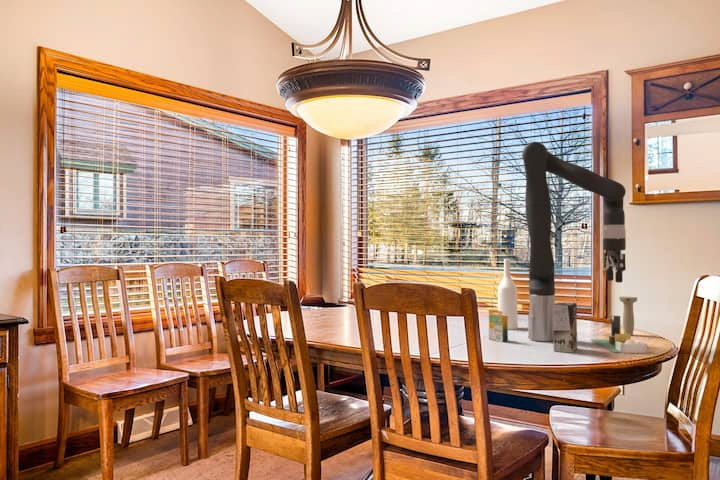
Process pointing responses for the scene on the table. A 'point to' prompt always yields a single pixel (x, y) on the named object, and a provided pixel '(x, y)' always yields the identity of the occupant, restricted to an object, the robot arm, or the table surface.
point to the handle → (628, 314)
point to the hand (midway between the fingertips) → (614, 281)
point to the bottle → (508, 297)
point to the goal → (631, 347)
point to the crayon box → (498, 326)
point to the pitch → (607, 345)
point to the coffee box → (565, 327)
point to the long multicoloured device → (618, 330)
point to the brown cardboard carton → (611, 340)
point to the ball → (629, 341)
